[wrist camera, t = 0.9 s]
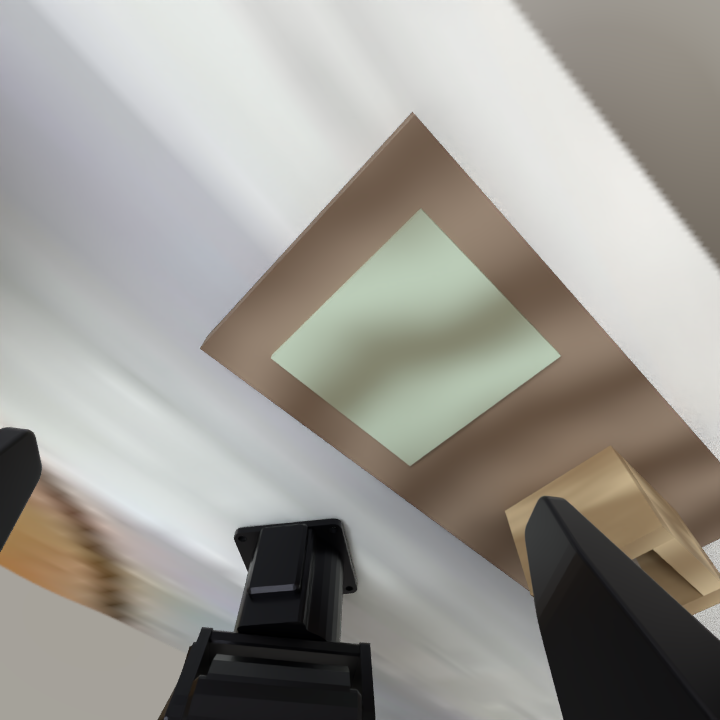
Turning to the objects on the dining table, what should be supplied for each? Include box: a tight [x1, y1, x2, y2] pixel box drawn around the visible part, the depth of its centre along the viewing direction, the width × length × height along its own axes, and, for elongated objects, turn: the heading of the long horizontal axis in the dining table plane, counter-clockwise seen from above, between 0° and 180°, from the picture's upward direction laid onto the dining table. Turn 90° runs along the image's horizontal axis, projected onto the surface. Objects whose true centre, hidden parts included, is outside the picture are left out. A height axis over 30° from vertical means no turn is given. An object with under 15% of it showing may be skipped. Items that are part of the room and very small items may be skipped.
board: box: [200, 112, 720, 591], centre depth 22 cm, size 28×13×6 cm, turn 46°
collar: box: [505, 445, 720, 615], centre depth 24 cm, size 6×6×5 cm
